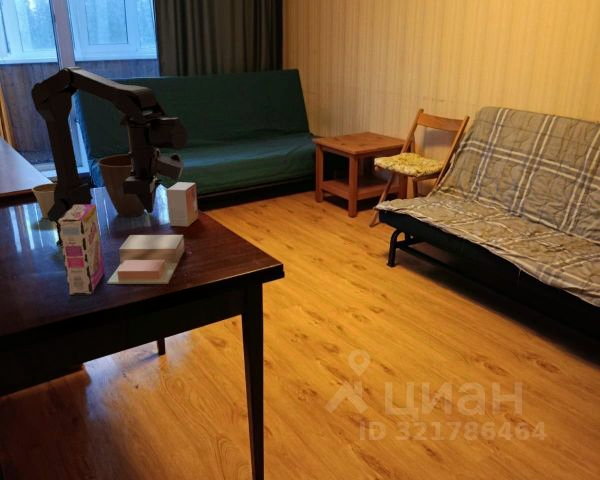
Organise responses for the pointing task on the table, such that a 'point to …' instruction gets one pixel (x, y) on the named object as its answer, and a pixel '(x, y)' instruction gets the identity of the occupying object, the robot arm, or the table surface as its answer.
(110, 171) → the plant pot
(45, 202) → the flower pot
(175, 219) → the small box
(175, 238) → the deck
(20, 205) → the table surface
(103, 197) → the table surface
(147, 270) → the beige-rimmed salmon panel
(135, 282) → the mat
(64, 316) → the table surface
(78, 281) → the candy bar box
